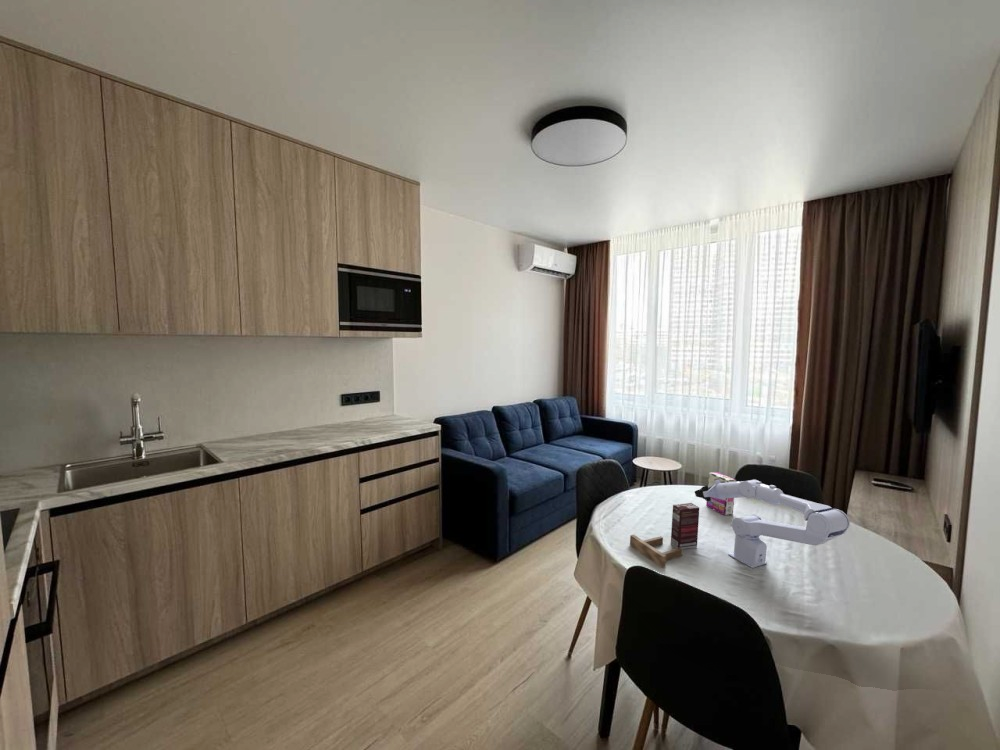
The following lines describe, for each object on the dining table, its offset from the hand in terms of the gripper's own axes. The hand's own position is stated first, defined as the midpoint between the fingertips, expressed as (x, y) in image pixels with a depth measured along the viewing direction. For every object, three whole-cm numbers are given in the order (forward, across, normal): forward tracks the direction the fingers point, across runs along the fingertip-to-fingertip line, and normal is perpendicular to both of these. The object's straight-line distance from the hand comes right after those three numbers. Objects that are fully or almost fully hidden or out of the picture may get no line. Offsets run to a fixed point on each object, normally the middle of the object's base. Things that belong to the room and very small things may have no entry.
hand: (702, 491), depth 166 cm
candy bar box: (+19, -25, +12) cm, 34 cm away
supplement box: (+1, +16, +17) cm, 24 cm away
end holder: (0, +28, +16) cm, 33 cm away
